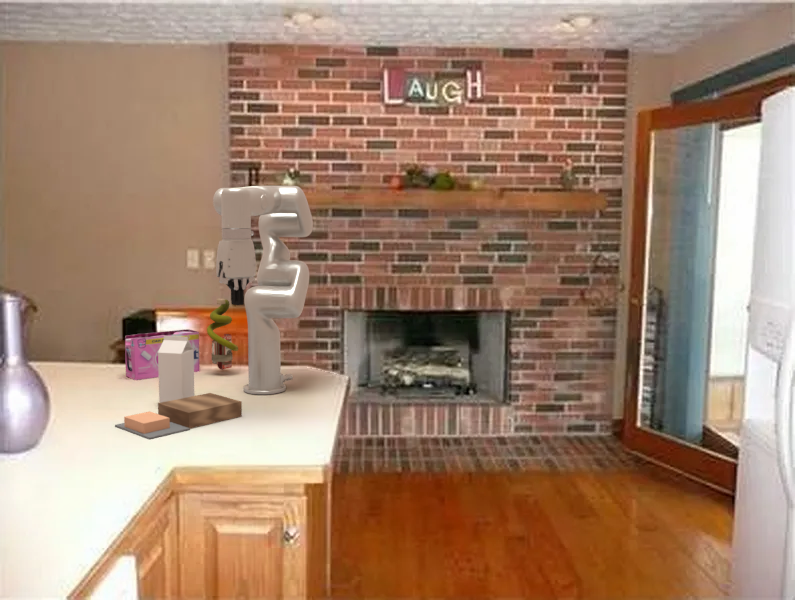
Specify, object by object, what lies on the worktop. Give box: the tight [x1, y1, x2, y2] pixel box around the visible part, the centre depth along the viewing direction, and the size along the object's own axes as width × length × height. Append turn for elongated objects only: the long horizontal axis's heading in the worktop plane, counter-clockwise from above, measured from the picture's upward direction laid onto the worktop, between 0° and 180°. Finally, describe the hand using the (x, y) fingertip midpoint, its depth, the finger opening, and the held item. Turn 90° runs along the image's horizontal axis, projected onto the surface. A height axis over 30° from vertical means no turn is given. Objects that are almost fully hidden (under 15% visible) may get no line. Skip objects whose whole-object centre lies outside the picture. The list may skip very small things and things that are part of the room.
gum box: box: [124, 329, 200, 381], centre depth 252 cm, size 24×8×14 cm, turn 132°
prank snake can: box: [206, 298, 239, 370], centre depth 254 cm, size 12×10×25 cm
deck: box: [157, 392, 243, 429], centre depth 200 cm, size 16×14×4 cm
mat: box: [114, 422, 191, 440], centre depth 190 cm, size 11×16×1 cm
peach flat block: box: [123, 410, 170, 434], centre depth 189 cm, size 7×9×2 cm
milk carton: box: [158, 336, 195, 403], centre depth 214 cm, size 7×7×19 cm
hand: (237, 304), depth 204 cm, fingers closed
